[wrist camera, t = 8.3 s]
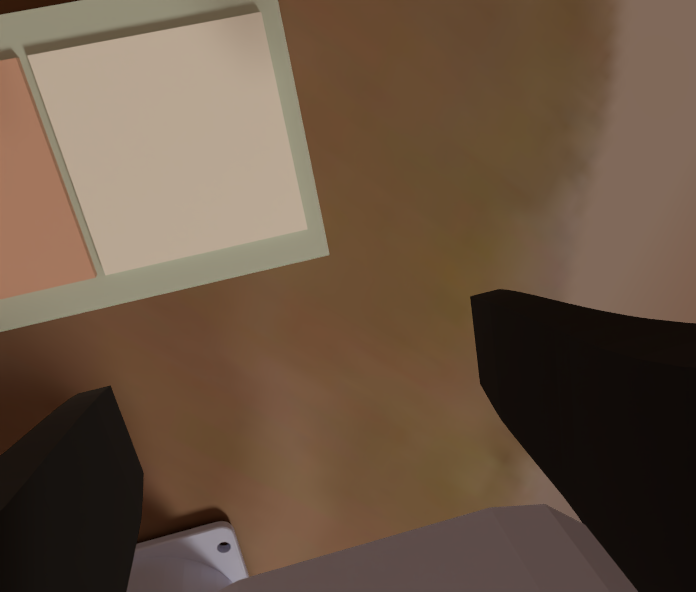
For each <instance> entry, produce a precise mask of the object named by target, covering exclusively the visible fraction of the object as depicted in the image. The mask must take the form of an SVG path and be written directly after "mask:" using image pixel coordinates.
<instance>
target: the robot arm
mask: <svg viewBox="0 0 696 592" xmlns="http://www.w3.org/2000/svg"><path fill="white" fill-rule="evenodd" d="M470 299H471V307H472V316H473V325H474V334H475V342H476V351H477V360H478V369H479V378H480V384H481V386H482V388H483V390H484V391H485V393H486V395H487V397H488V398H489V400H490V402H491V404H492V405H493V407H494V409H495V410H496V412H497V414H498V415H499V417H500V419H501V420H502V421H503V423H504V424H505V425H506V427H507V428H508V429H509V430H510V432H511V433H512V434H513V435H514V437H515V438H516V439H517V440H518V442H519V443H520V444H521V445H522V447H523V448H524V449H525V450H526V451H527V453H528V454H529V455H530V456H531V458H532V459H533V460H534V461H535V462H536V464H537V465H538V466H539V467H540V469H541V470H542V471H543V472H544V473H545V475H546V476H547V477H548V478H549V479H550V481H551V482H552V483H553V484H554V485H555V487H556V488H557V489H558V490H559V492H560V493H561V494H562V495H563V496H564V498H565V499H566V501H567V502H568V503H569V504H570V506H571V507H572V509H573V510H574V511H575V513H576V514H577V515H578V516H579V518H580V520H581V521H582V523H581V522H579V521H577V520H575V519H573V518H571V517H569V516H567V515H565V514H563V513H561V512H559V511H558V510H556V509H553V508H552V507H550V506H548V505H546V504H538V505H523V506H507V507H492V508H487V509H483V510H480V511H476V512H473V513H469V514H466V515H463V516H459V517H456V518H452V519H449V520H445V521H442V522H438V523H435V524H431V525H428V526H424V527H421V528H418V529H414V530H411V531H407V532H404V533H400V534H397V535H393V536H390V537H386V538H383V539H379V540H376V541H373V542H369V543H366V544H362V545H359V546H355V547H352V548H348V549H345V550H341V551H338V552H334V553H331V554H328V555H324V556H321V557H317V558H314V559H310V560H307V561H303V562H300V563H296V564H293V565H290V566H286V567H283V568H279V569H276V570H272V571H269V572H265V573H262V574H258V575H255V576H251V577H249V575H248V571H247V568H246V565H245V562H244V559H243V556H242V553H241V550H240V547H239V544H238V541H237V538H236V535H235V531H234V528H233V527H232V525H231V524H230V523H228V522H225V521H217V522H214V523H210V524H207V525H203V526H199V527H196V528H192V529H189V530H185V531H181V532H178V533H174V534H171V535H167V536H163V537H160V538H156V539H153V540H149V541H145V542H142V543H138V544H136V543H137V538H138V533H139V528H140V523H141V516H142V501H143V475H144V473H143V470H142V467H141V465H140V462H139V460H138V457H137V454H136V452H135V449H134V446H133V444H132V441H131V438H130V436H129V433H128V431H127V428H126V425H125V423H124V420H123V417H122V415H121V412H120V410H119V407H118V404H117V402H116V399H115V396H114V394H113V391H112V388H111V386H107V387H103V388H99V389H95V390H91V391H87V392H83V393H79V394H77V395H75V396H73V397H72V398H70V399H69V400H67V401H66V402H65V403H63V404H62V405H61V406H59V407H58V408H57V409H56V410H54V411H53V412H52V413H51V414H50V415H48V416H47V417H46V418H45V419H44V420H42V421H41V422H40V423H39V424H38V425H36V426H35V427H34V428H33V429H32V430H31V431H29V432H28V433H27V434H26V435H25V436H23V437H22V438H21V439H20V440H19V441H18V442H16V443H15V444H14V445H13V446H12V447H10V448H9V449H8V450H7V451H6V452H4V453H3V454H2V455H1V456H0V592H696V324H695V323H683V322H673V321H664V320H655V319H647V318H639V317H633V316H627V315H622V314H616V313H611V312H605V311H600V310H595V309H591V308H586V307H582V306H577V305H573V304H568V303H564V302H560V301H556V300H552V299H548V298H543V297H539V296H535V295H531V294H526V293H522V292H517V291H511V290H502V289H498V290H494V291H490V292H486V293H482V294H478V295H474V296H470ZM222 542H227V543H229V544H227V545H223V546H222V545H219V544H220V543H222Z"/></svg>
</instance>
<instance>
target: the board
mask: <svg viewBox="0 0 696 592" xmlns="http://www.w3.org/2000/svg"><path fill="white" fill-rule="evenodd" d="M327 255H329V250H328V245H327V240H326V235H325V230H324V225H323V220H322V216H321V211H320V206H319V201H318V196H317V191H316V186H315V181H314V176H313V171H312V166H311V161H310V157H309V152H308V147H307V142H306V137H305V132H304V127H303V122H302V117H301V112H300V107H299V102H298V97H297V93H296V88H295V83H294V78H293V73H292V68H291V63H290V58H289V53H288V48H287V43H286V38H285V34H284V29H283V24H282V19H281V14H280V9H279V4H278V0H80V1H74V2H69V3H63V4H58V5H52V6H46V7H41V8H35V9H30V10H24V11H19V12H13V13H7V14H2V15H0V332H2V331H7V330H11V329H15V328H20V327H24V326H28V325H32V324H37V323H41V322H45V321H49V320H54V319H58V318H62V317H67V316H71V315H75V314H79V313H84V312H88V311H92V310H96V309H101V308H105V307H109V306H114V305H118V304H122V303H126V302H131V301H135V300H139V299H143V298H148V297H152V296H156V295H160V294H165V293H169V292H173V291H178V290H182V289H186V288H190V287H195V286H199V285H203V284H207V283H212V282H216V281H220V280H225V279H229V278H233V277H237V276H242V275H246V274H250V273H254V272H259V271H263V270H267V269H272V268H276V267H280V266H284V265H289V264H293V263H297V262H301V261H306V260H310V259H314V258H318V257H323V256H327Z"/></svg>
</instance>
